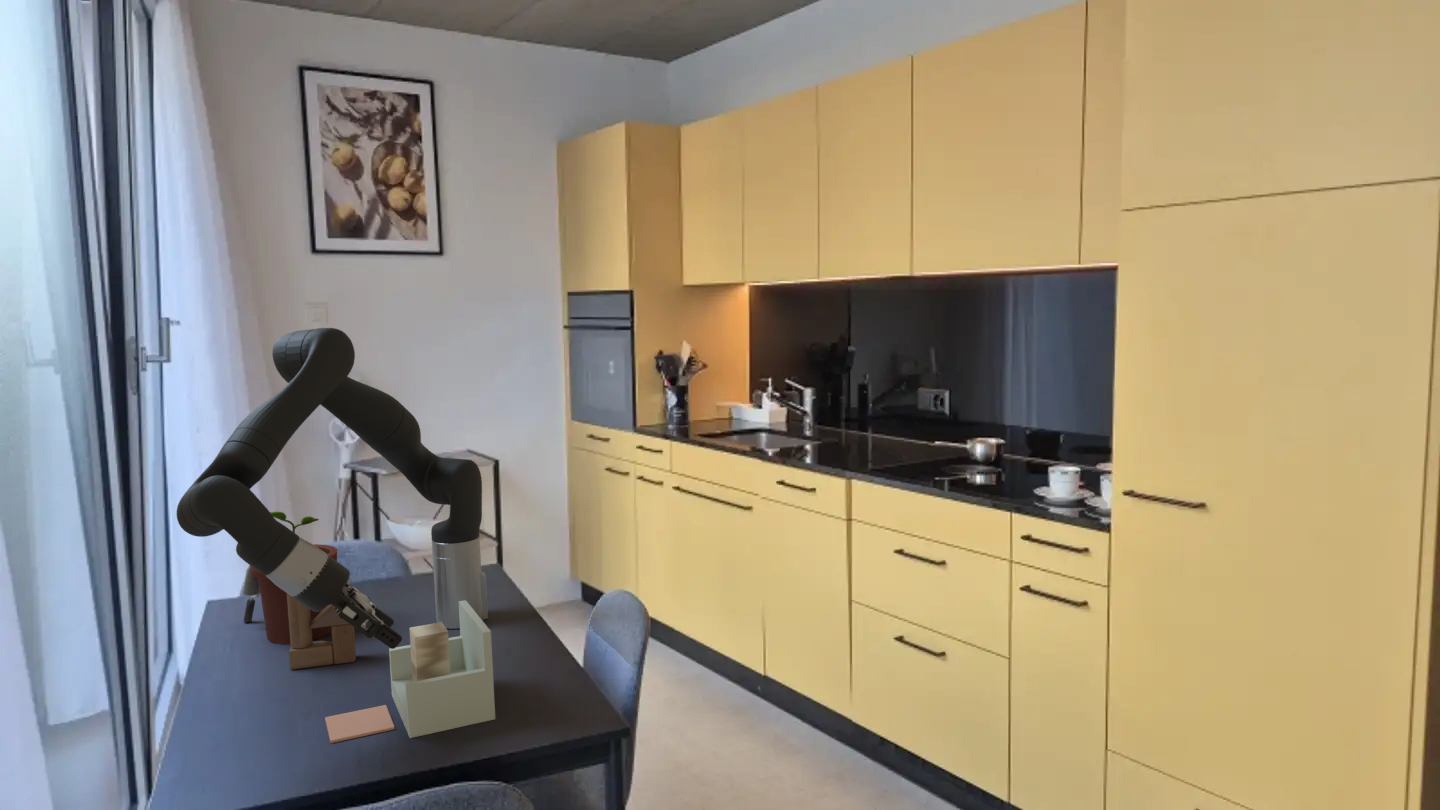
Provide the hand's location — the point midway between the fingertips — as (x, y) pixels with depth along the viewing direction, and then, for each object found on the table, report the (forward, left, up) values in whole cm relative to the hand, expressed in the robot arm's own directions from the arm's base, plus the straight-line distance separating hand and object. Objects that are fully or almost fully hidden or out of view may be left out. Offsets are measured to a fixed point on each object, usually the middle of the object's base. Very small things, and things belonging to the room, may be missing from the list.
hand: (393, 634), depth 146 cm
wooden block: (-2, -31, -13) cm, 34 cm away
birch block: (-5, +2, -10) cm, 11 cm away
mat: (+5, -2, -13) cm, 14 cm away
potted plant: (-7, -53, -13) cm, 55 cm away
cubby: (-6, +2, -13) cm, 15 cm away
